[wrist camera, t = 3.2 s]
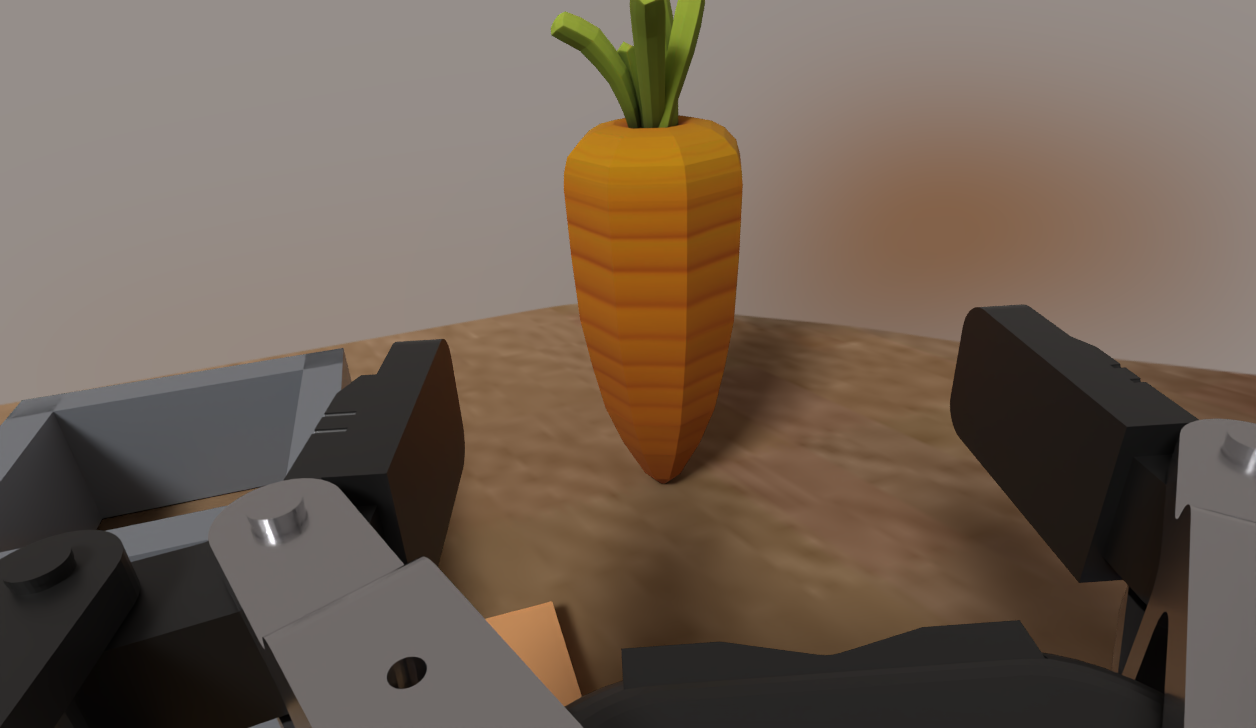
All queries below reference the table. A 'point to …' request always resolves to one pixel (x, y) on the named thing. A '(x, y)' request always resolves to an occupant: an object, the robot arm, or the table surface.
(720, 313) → the carrot
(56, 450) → the socket block
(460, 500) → the table surface
